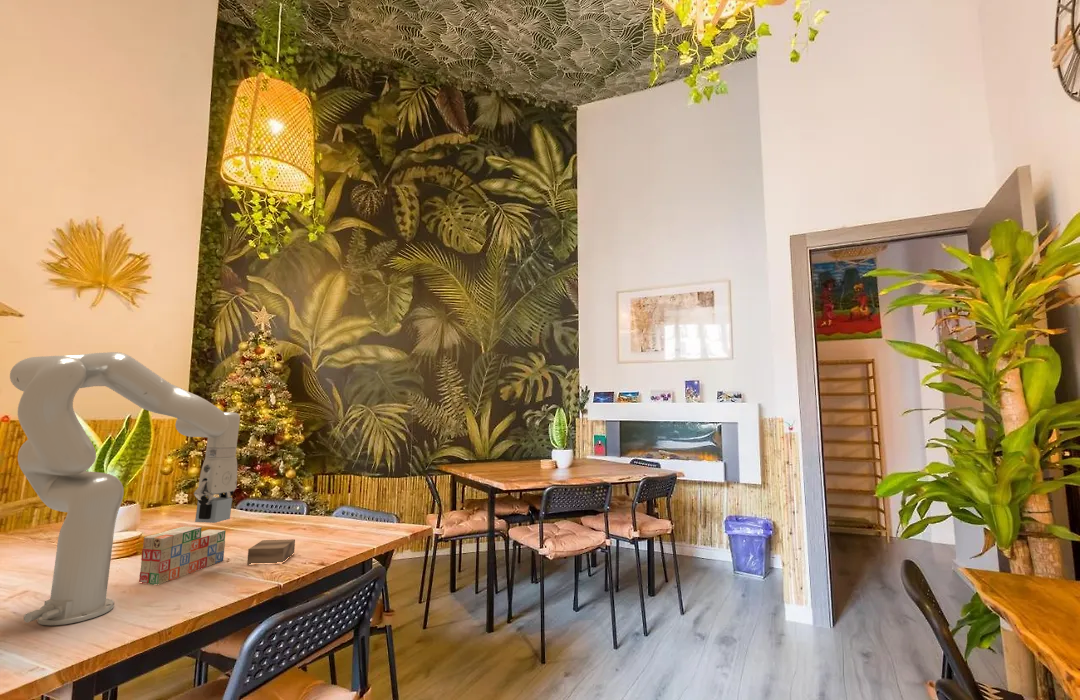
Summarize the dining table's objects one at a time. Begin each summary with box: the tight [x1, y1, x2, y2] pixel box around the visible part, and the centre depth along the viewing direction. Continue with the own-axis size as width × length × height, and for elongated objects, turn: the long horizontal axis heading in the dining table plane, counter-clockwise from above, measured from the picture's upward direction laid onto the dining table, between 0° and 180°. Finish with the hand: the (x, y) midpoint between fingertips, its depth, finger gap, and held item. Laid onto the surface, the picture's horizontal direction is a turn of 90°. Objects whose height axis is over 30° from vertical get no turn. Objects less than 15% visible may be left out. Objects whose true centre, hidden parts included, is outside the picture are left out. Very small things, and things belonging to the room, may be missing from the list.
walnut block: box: [246, 538, 296, 565], centre depth 150 cm, size 10×10×5 cm
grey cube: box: [194, 496, 233, 524], centre depth 140 cm, size 6×6×6 cm
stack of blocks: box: [138, 525, 226, 586], centre depth 139 cm, size 21×6×12 cm, turn 169°
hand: (213, 516), depth 140 cm, fingers closed on grey cube, 6 cm apart
